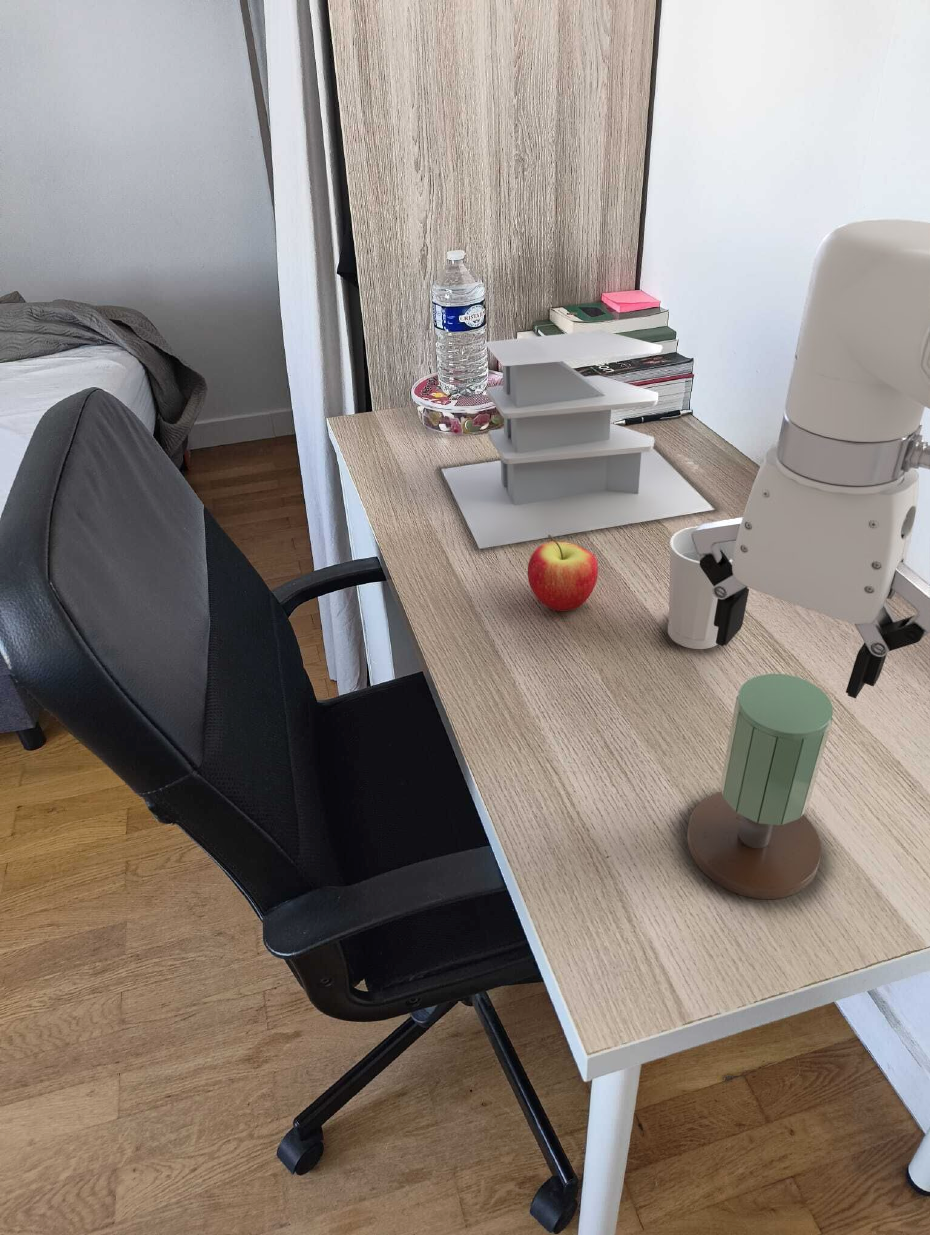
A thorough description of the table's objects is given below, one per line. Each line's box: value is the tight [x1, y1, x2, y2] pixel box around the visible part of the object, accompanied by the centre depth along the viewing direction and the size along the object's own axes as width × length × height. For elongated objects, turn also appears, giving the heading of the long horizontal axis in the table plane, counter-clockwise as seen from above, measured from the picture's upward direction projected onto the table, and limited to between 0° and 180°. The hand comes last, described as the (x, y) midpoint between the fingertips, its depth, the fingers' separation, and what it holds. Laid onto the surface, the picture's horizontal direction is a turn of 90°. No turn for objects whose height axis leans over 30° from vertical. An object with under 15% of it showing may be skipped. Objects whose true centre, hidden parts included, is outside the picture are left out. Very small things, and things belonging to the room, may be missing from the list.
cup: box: [667, 525, 736, 650], centre depth 95 cm, size 8×8×12 cm
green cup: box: [720, 672, 834, 825], centre depth 67 cm, size 7×7×10 cm
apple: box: [527, 535, 599, 612], centre depth 101 cm, size 8×8×10 cm
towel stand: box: [686, 790, 822, 900], centre depth 69 cm, size 11×11×16 cm
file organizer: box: [441, 329, 716, 550], centre depth 122 cm, size 26×35×22 cm
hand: (790, 660), depth 62 cm, fingers open, 9 cm apart
